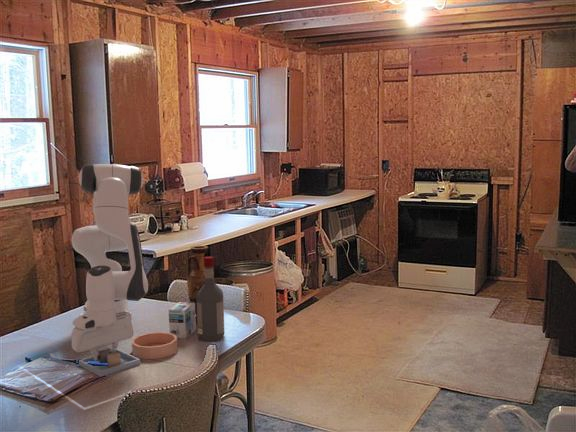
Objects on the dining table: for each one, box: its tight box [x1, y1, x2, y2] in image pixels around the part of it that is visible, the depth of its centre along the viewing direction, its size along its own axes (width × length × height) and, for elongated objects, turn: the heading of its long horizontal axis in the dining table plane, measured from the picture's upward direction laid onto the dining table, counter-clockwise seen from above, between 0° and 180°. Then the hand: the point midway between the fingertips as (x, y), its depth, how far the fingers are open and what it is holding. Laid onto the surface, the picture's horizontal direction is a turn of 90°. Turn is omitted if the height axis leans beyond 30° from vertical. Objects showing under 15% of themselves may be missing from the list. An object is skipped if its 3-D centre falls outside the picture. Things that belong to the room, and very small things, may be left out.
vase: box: [185, 245, 209, 325], centre depth 237 cm, size 11×11×30 cm
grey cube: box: [97, 347, 111, 363], centre depth 196 cm, size 4×4×4 cm
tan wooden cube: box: [107, 353, 121, 368], centre depth 191 cm, size 4×4×4 cm
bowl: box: [131, 331, 178, 360], centre depth 206 cm, size 15×15×4 cm
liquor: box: [196, 255, 225, 343], centre depth 217 cm, size 9×9×30 cm
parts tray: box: [78, 348, 141, 378], centre depth 194 cm, size 14×14×2 cm
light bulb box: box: [168, 301, 197, 339], centre depth 224 cm, size 11×7×11 cm, turn 169°
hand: (104, 357), depth 196 cm, fingers closed on grey cube, 4 cm apart
